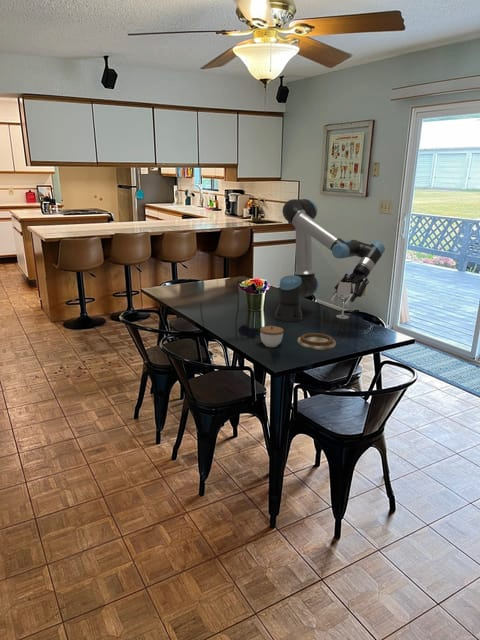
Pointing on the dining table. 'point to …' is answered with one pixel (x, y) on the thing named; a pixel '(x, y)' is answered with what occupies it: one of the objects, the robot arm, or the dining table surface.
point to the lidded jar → (271, 335)
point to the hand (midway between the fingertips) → (339, 303)
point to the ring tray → (316, 341)
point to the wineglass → (344, 294)
